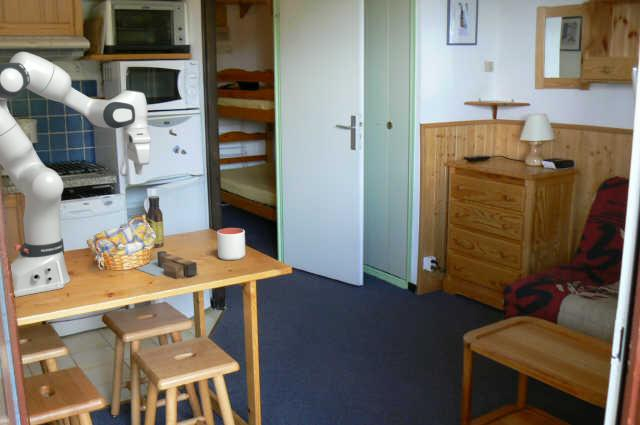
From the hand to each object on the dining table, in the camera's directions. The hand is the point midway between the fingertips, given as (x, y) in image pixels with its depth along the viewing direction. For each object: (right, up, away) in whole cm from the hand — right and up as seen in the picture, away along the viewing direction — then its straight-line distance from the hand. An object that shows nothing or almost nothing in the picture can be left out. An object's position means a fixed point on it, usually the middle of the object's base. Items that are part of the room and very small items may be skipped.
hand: (138, 174), depth 253 cm
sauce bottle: (+1, -27, +22) cm, 35 cm away
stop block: (+18, -35, -14) cm, 42 cm away
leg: (+15, -33, -10) cm, 38 cm away
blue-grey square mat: (+10, -33, -5) cm, 35 cm away
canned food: (-6, -29, +12) cm, 32 cm away
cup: (+33, -31, +6) cm, 45 cm away
